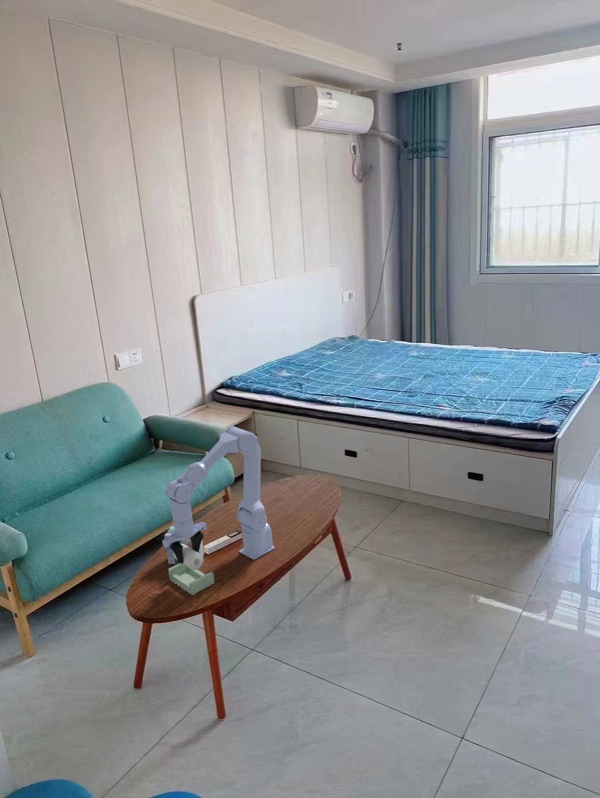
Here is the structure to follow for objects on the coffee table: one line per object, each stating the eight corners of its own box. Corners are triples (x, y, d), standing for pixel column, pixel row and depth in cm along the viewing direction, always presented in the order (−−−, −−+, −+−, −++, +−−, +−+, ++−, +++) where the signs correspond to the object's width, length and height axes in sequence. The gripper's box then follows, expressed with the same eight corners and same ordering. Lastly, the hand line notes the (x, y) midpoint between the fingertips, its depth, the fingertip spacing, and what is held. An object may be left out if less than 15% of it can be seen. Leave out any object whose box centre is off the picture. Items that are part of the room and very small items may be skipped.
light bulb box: (167, 564, 194) (163, 535, 191) (174, 553, 201) (170, 525, 197) (198, 564, 192) (194, 535, 189) (204, 553, 199) (201, 525, 196)
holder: (169, 580, 185) (168, 569, 184) (191, 569, 190) (189, 558, 189) (192, 596, 176) (191, 584, 175) (214, 584, 181) (213, 572, 180)
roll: (173, 561, 183) (172, 547, 182) (187, 555, 186) (186, 541, 185) (190, 572, 176) (189, 557, 175) (204, 566, 180) (203, 551, 178)
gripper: (195, 506, 184) (200, 544, 188) (154, 523, 175) (161, 563, 179) (208, 512, 179) (213, 552, 183) (167, 531, 170) (173, 572, 174)
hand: (188, 558), depth 181 cm, fingers closed on roll, 5 cm apart
